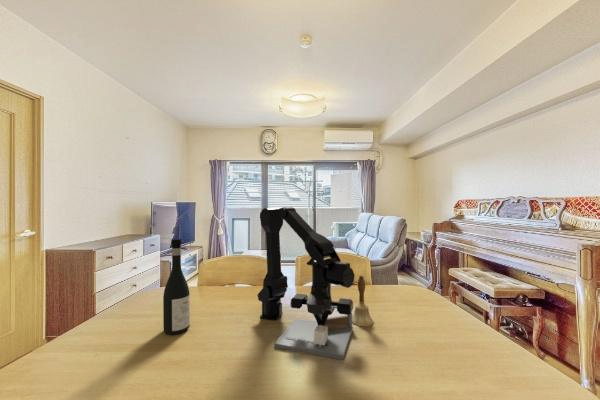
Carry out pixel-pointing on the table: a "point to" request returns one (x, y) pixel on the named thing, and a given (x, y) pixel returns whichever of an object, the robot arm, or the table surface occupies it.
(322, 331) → the fader
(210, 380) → the table surface
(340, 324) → the door
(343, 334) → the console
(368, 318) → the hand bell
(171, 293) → the wine bottle
